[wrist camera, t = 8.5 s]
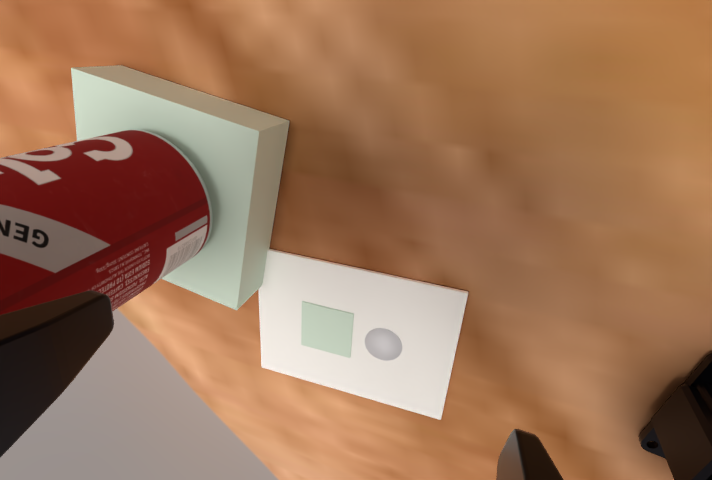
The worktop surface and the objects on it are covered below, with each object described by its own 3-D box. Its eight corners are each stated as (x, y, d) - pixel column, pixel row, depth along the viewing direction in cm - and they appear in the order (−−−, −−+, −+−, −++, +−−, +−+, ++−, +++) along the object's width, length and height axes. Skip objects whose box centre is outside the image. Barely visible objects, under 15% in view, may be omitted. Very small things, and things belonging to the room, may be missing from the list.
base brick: (289, 120, 21) (259, 131, 18) (263, 283, 26) (236, 310, 23) (121, 65, 22) (70, 67, 20) (126, 227, 27) (86, 246, 25)
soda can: (246, 226, 20) (-22, 412, 10) (162, 273, 24) (-108, 452, 13) (162, 99, 19) (-250, 162, 9) (85, 167, 22) (-286, 273, 12)
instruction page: (468, 291, 22) (468, 294, 21) (441, 417, 25) (440, 421, 25) (258, 246, 25) (255, 248, 24) (263, 365, 28) (260, 368, 28)
